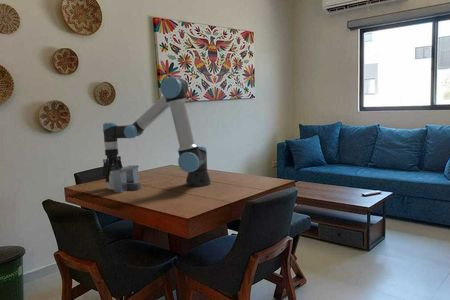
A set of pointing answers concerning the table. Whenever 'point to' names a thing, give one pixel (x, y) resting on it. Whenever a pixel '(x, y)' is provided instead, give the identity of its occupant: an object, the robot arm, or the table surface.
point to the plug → (129, 185)
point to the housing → (125, 177)
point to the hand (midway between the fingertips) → (114, 185)
